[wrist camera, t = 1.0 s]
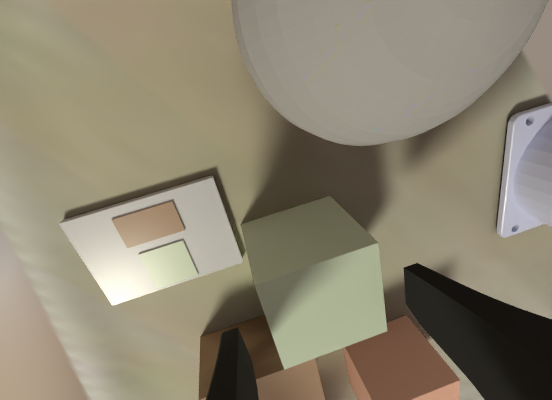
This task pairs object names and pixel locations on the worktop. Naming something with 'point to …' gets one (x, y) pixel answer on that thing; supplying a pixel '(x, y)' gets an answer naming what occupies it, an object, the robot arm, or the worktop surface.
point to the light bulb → (378, 60)
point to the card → (155, 240)
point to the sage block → (315, 279)
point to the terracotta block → (399, 366)
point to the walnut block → (263, 365)
